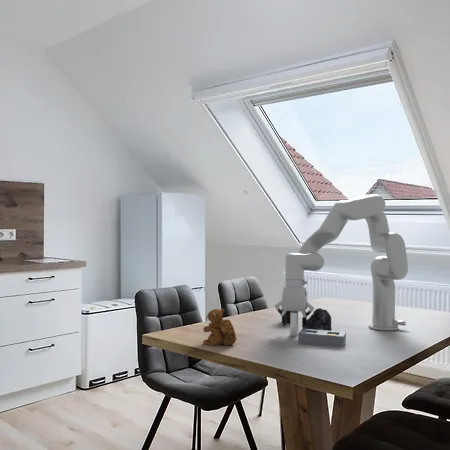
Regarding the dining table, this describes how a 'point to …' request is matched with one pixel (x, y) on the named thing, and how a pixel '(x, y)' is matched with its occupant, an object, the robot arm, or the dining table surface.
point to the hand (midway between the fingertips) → (294, 325)
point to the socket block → (322, 337)
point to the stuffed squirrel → (219, 329)
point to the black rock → (319, 320)
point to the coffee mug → (287, 315)
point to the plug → (294, 323)
